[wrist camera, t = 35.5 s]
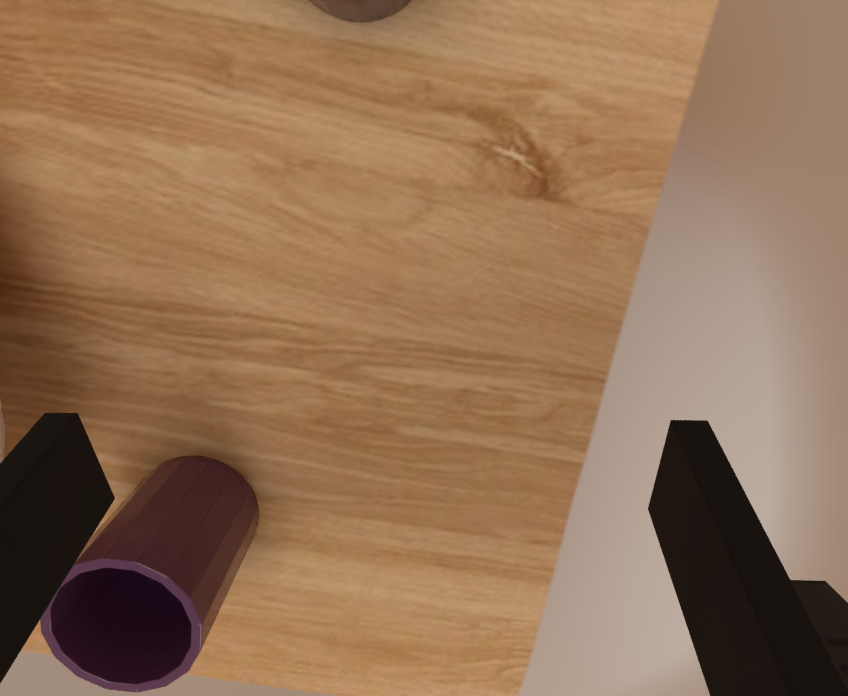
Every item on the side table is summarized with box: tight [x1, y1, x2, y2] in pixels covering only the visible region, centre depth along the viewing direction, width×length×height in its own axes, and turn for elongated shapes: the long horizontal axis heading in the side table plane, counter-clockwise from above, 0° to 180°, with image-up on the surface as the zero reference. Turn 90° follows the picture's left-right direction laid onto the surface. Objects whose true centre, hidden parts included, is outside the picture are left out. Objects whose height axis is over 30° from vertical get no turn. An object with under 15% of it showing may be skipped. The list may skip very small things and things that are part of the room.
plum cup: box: [40, 456, 258, 692], centre depth 33 cm, size 7×7×10 cm
